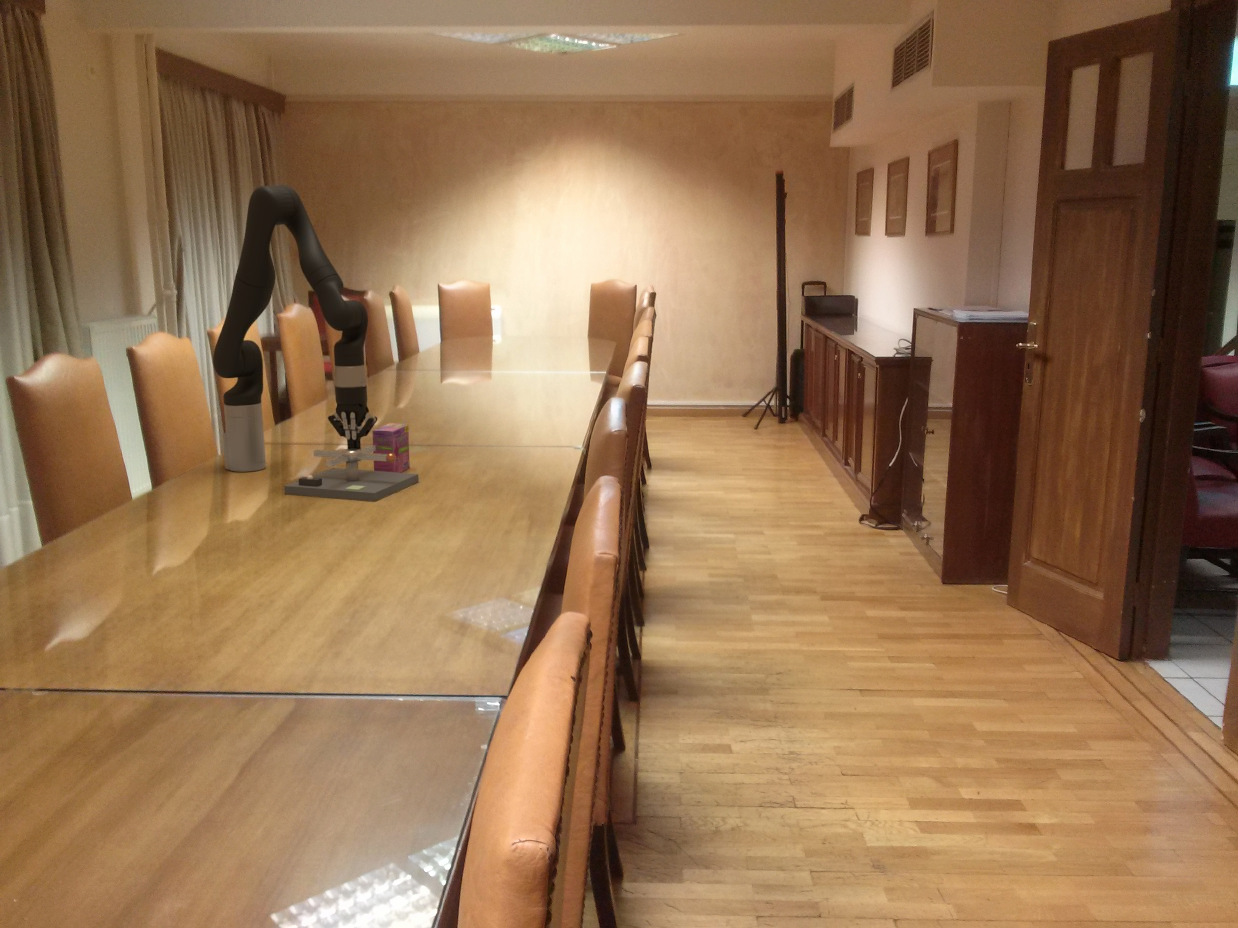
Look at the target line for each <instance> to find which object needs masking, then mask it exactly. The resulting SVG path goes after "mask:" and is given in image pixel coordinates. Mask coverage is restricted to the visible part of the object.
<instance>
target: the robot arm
mask: <svg viewBox="0 0 1238 928" xmlns="http://www.w3.org/2000/svg"><path fill="white" fill-rule="evenodd" d="M248 201H249V202H248V205H247V214H246V222H245V231H244V232H245V233H244V237H243V244H242V248H241V251H240V252H241V253H240V257H239V262H238V265H237V270H236V273H235V278H234V281H233V286H232V292H231V294H230V300H229V304H228V307H227V312H226V315H225V319H224V321H223V324H222V327H221V330H220V332H219V335H218V338H217V341H216V344H215V346H214V347H215V348H214V351H213V357H212V358H213V359H212V363H213V368H214V371H215V372H216V374H217V375H218V376H219V377H220V378H221V379H222V378H223V379H237V380H236V383H235V384H234V385H233V386H232V387H231V388H230V389H228V390H227V391H225V392H224V393H223V396H222V397H223V398H222V399H223V408H224V410H223V411H224V412H223V413H224V423H225V424H224V425H225V432H223V434H222V440H223V441H222V442H223V455H224V457H223V458H224V466H225V470H229V471H230V472H231V471H232V472H241V473H242V472H244V473H246V472H254V471H255V472H256V471H261V470H264V469H265V468H267V462H266V448H265V447H266V446H265V434H264V421H263V420H264V419H263V408H262V407H263V405H262V395H263V391H264V363H263V362H264V360H263V355H262V354H263V353H262V350H261V349H260V347H259V344H258V343H256V342H255V341H253V340H250V339H245V337H246V335H247V333H248V331H249V330H250V328H251V327H252V325H253V324H254V323H256V321H257V320H258V318H260V316H261V315H262V314H263V312H265V310H266V309H267V308H268V306H269V304H270V301H271V299H272V295H273V292H274V288H275V284H276V275H277V274H276V269H275V266H274V262H273V258H272V256H271V241H272V240H271V239H272V238H273V237H272V236H273V233H274V229H275V228H276V226H279V225H284V226H285V227H286V228H287V229H288V231H289V232H290V233H291V234H292V237H293V239H294V241H295V243H296V246H297V251H298V259H299V266H300V269H301V272H302V274H303V276H304V277H305V279H306V281H307V283H308V284H309V286H310V287H311V289H312V291H313V292H314V293H315V295H316V298H317V302H318V304H319V307H320V310H321V312H322V316H323V318H324V320H325V321H326V323H327V324H328V326H330V328H332V329H334V330H335V331H336V332H337V331H338V332H341V337H340V339H339V340H337V341H336V342H335V344H334V346H333V359H334V362H333V363H334V372H333V374H334V376H333V377H334V380H333V381H334V395H335V403H336V407H335V411H334V412H333V414H332V415H328V417H327V421H329V422H330V424H331V425H332V427H333V429H335V431H336V432H337V434H338V435H339V436H340V437H343V438H345V439H346V441H347V442H346V443H347V444H346V445H347V449H360V448H362V446H361V439H362V438H363V437H367V436H368V435H369V433H370V432H371V430H372V429H373V428H374V426H375V424H376V423H377V421H378V417H377V416H373V415H372V414H371V413H370V411H369V408H368V388H367V382H368V381H367V371H366V366H365V352H364V347H365V342H366V337H367V331H368V326H369V325H368V324H369V317H368V312H367V309H366V307H365V304H363V303H362V302H361V301H359V300H357V299H347V300H345V299H344V297H343V296H342V294H341V292H342V291H343V289H344V285H345V284H344V282H343V280H342V277H340V275H339V273H338V271H337V270H336V269H335V267H334V265H333V263H332V262H331V261H330V259H329V257H328V256H327V254H326V252H325V251H324V248H323V246H322V245H321V244H322V243H321V242H320V240H319V238H318V235H317V233H316V230H315V229H314V226H313V224H312V222H311V219H310V217H309V215H308V213H307V210H306V207H305V205H304V204H303V201H302V199H301V197H300V196H299V193H298V192H297V191H296V190H295V189H294V188H293V187H291V186H289V185H283V184H274V185H273V184H270V185H261V186H260V185H259V186H258V187H256V188H255V189H254V190H253V192H252V193H251V195H250V198H249V200H248ZM363 423H364V425H363Z"/></svg>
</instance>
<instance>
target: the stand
mask: <svg viewBox="0 0 1238 928" xmlns="http://www.w3.org/2000/svg"><path fill="white" fill-rule="evenodd" d="M419 482H420V481H419V473H410V472H409V473H408V472H401V473H397V472H383V471H374V470H367V469H359V461H358V462H345V468H342V467H340V468H339V467H331V468H328V469H326V470H324V471H321V472H318V473H315V474H313V475H312V474H308V475H307V476H302V477H300V478H298V480H296V481H294V482H291V483H289V484H286V485H284V495H291V496H292V495H293V496H303V497H304V496H305V497H313V498H314V497H316V498H317V497H318V498H327V499H340V500H351V501H352V500H355V501H366V502H377V501H379V500H382V499H384V498H386V497H388V496H391V495H393V494H395V493H397V492H400V491H402V490H404V489H406V488H408V487H411V486H413V485H415V484H417V483H419Z"/></svg>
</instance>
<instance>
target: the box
mask: <svg viewBox="0 0 1238 928" xmlns="http://www.w3.org/2000/svg"><path fill="white" fill-rule="evenodd" d="M409 432H410V431H409V423H396V422H395V423H392V422H391V423H386V424H385V425H382V426H379V427H378V428H375V429H373V430H372V445H375V447H376V451H373V452H372V453H375V454H389V453H393V454H395V456H396V461H395V462H394V463H388V462H387V461H374V460H373V471H383V472H397V473H404V472H405V471H407V470H408V469H410V468H411V465H410V437H409V435H410V433H409Z"/></svg>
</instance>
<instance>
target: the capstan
mask: <svg viewBox="0 0 1238 928" xmlns="http://www.w3.org/2000/svg"><path fill="white" fill-rule="evenodd" d="M373 451H376V447H375V445H373V444H369V445H366V446H363V447H361V448H360V449H348V448H346V449H343V450H329V449H328V450H327V449H314V450H313V457H319V458H329V459H326V460H325V467H327V468H328V467H331V468H333V467H335V466H338V465H339V464H342V463H343V464H344V463H346V462H358V463H359V462H361V461H362V460H363V461H373V462H374V461H387V462H388V463H394V462H395V461H396V456H395V454H393V453H389V454H375V453H373Z"/></svg>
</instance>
